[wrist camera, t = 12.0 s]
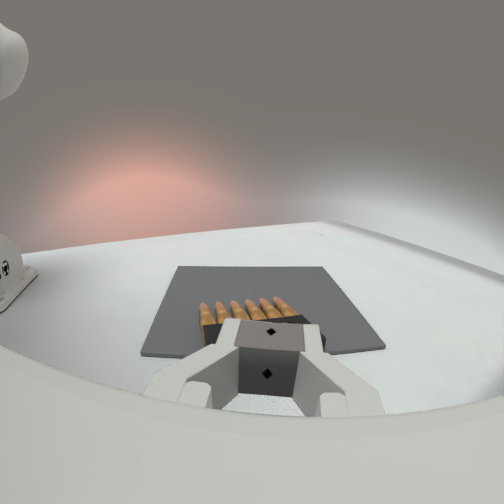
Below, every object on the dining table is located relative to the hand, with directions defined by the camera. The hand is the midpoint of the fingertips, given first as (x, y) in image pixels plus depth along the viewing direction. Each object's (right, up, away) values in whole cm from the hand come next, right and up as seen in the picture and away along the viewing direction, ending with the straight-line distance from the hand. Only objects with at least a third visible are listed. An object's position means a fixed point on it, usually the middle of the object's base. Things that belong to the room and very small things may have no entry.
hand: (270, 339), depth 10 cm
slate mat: (0, -3, +28) cm, 29 cm away
